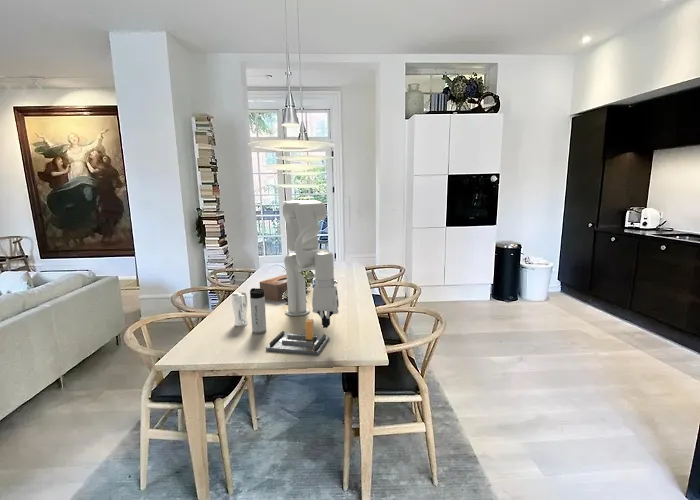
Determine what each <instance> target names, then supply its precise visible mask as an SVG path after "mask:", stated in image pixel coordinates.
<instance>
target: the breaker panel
mask: <svg viewBox="0 0 700 500" xmlns="http://www.w3.org/2000/svg"><path fill="white" fill-rule="evenodd" d="M284 332H285V331H284ZM323 335H324V334H323ZM323 335H322V334H314V337H315V341H314V342H310V341H305V339H306V333H301V332H300V333H299V332H285V333H284V334H283V335H282V336H281V337H280V338H279V339H278V340H277V341H276V342H275V343H274V344H273V345H272V346H270V343H268V345H266V347H265V351H266V352H277V353H285V354H287V353H288V354H295V355H297V354H298V355H306V356H308V355H310V356H320V354H321V352H322V351H323V349H324V347H325V346H326V344H327V343H328V342H329V340H330V335H326V337H325V339H324V340H323V341H322V343H321V344H320V346H319V347H318V348H317V349H316V350H315V349H314V347H315V345H316V344H317V343H318V341H319V340H320V338H321V337H322V336H323Z"/></svg>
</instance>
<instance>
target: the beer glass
mask: <svg viewBox="0 0 700 500" xmlns="http://www.w3.org/2000/svg"><path fill="white" fill-rule="evenodd" d="M247 297H248V296H247V292H244V291H243V292H234V293H232V294H231V304H232V311H233V314H234V326H235V327H244V326H247V325H248V319H247V311H248V298H247Z"/></svg>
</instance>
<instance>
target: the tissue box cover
mask: <svg viewBox="0 0 700 500" xmlns="http://www.w3.org/2000/svg"><path fill="white" fill-rule="evenodd" d="M259 289H263V290H264V298H265V300H269V301H273V300H274V302H277V301H278V302H280V300H281V301H282V295H283V293H284V292H285V291H286V290H287V275H286V274H283V275H279V276H275V277H272V278H269V279H265V280H262V281H259Z"/></svg>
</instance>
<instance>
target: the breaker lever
mask: <svg viewBox="0 0 700 500" xmlns="http://www.w3.org/2000/svg"><path fill="white" fill-rule="evenodd" d="M304 323H305V334H306V339H305V341H310V342H314V341H315V337H314V335H315V334H314V331H315V329H314V319H311V318H307V319H306V320H305V322H304Z"/></svg>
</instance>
